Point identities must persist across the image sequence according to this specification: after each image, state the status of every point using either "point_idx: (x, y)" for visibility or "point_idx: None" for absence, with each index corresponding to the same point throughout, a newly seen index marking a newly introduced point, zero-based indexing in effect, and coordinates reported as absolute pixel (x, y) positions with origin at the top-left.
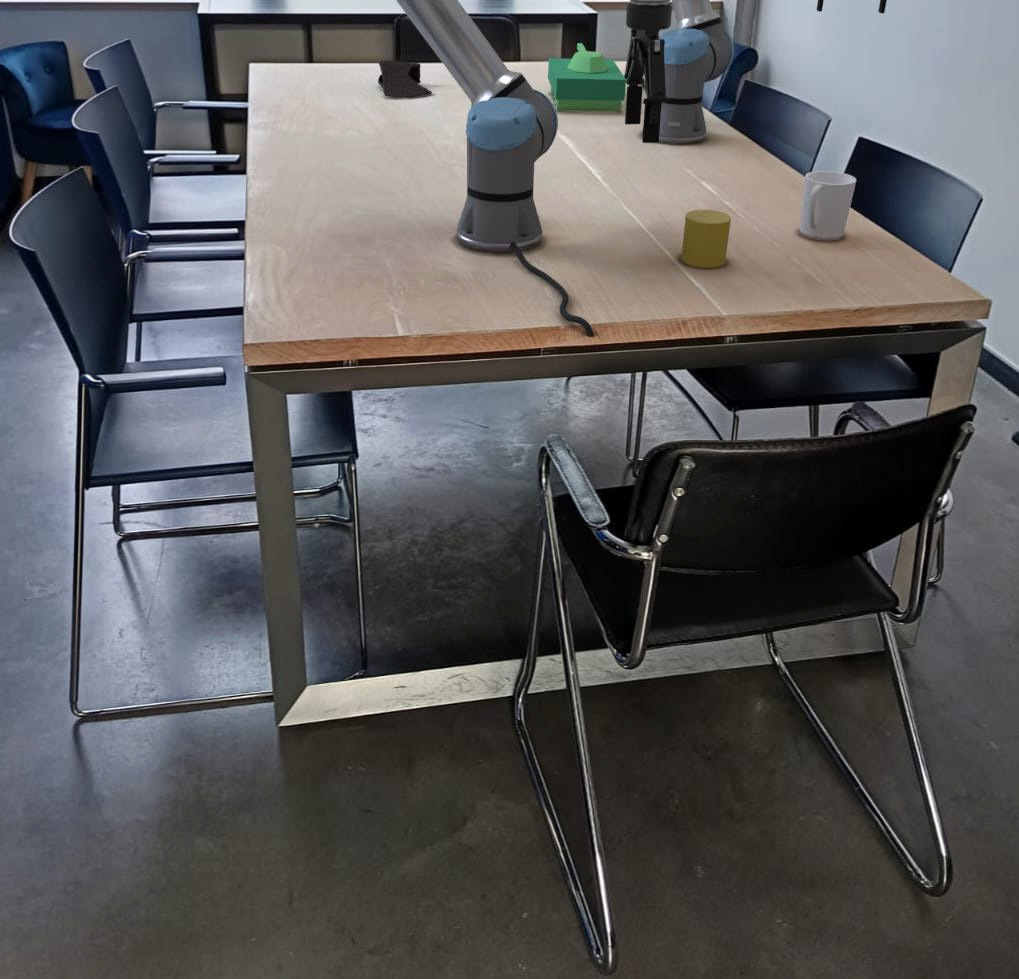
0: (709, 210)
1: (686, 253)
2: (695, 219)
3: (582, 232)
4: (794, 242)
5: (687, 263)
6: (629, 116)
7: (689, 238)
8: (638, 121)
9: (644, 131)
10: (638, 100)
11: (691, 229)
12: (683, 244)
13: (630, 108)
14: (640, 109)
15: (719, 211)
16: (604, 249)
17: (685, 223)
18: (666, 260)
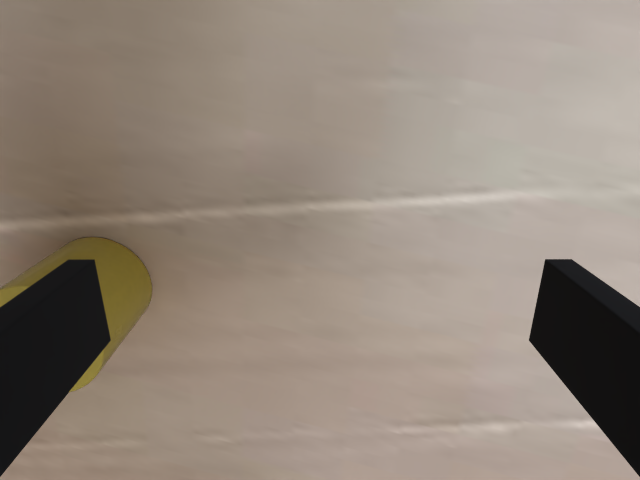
0: (96, 359)
1: (60, 249)
2: (1, 303)
3: (316, 15)
4: (228, 470)
5: (68, 243)
6: (569, 302)
7: (30, 268)
8: (537, 338)
9: (24, 293)
10: (625, 428)
11: (10, 281)
12: (71, 252)
13: (599, 335)
14: (579, 394)
15: (89, 380)
16: (165, 54)
17: (41, 276)
18: (93, 202)
